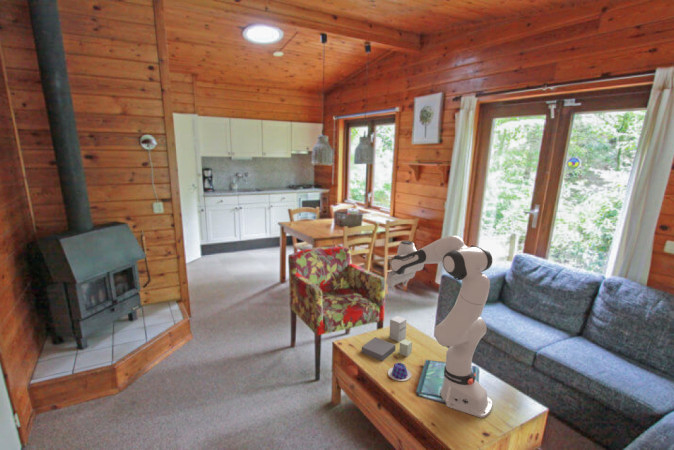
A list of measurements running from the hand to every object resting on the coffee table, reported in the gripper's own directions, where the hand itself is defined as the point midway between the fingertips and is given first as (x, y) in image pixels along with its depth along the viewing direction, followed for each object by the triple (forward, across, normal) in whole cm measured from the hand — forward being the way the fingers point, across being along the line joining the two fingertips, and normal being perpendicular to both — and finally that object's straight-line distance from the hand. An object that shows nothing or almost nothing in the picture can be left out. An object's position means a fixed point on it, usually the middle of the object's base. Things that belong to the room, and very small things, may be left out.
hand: (398, 287), depth 200 cm
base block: (+35, -16, -8) cm, 39 cm away
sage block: (+32, -6, -18) cm, 37 cm away
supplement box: (+36, +3, -4) cm, 37 cm away
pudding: (+29, -22, -29) cm, 47 cm away
